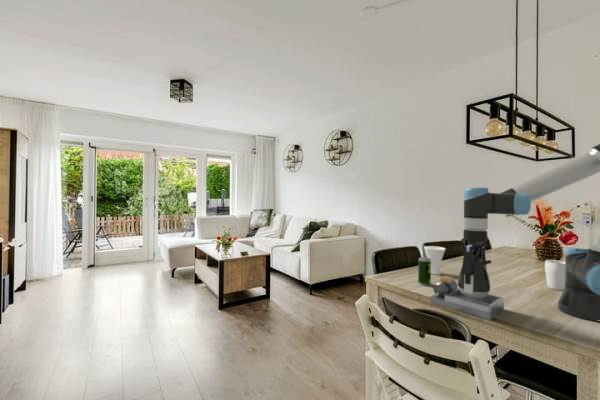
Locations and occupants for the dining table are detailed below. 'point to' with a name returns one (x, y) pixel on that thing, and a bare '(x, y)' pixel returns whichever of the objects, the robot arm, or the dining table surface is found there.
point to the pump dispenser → (477, 280)
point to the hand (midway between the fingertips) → (474, 289)
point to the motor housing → (465, 300)
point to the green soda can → (424, 271)
